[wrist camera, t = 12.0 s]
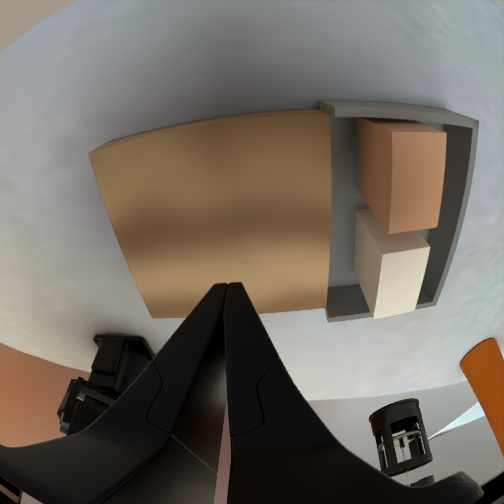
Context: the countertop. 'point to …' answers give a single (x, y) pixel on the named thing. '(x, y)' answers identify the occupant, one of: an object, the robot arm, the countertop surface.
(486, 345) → the spray bottle
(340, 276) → the tray
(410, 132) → the tan cardboard box
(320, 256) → the oak board
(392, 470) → the french press
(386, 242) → the cream rectangular block
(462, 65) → the countertop surface
